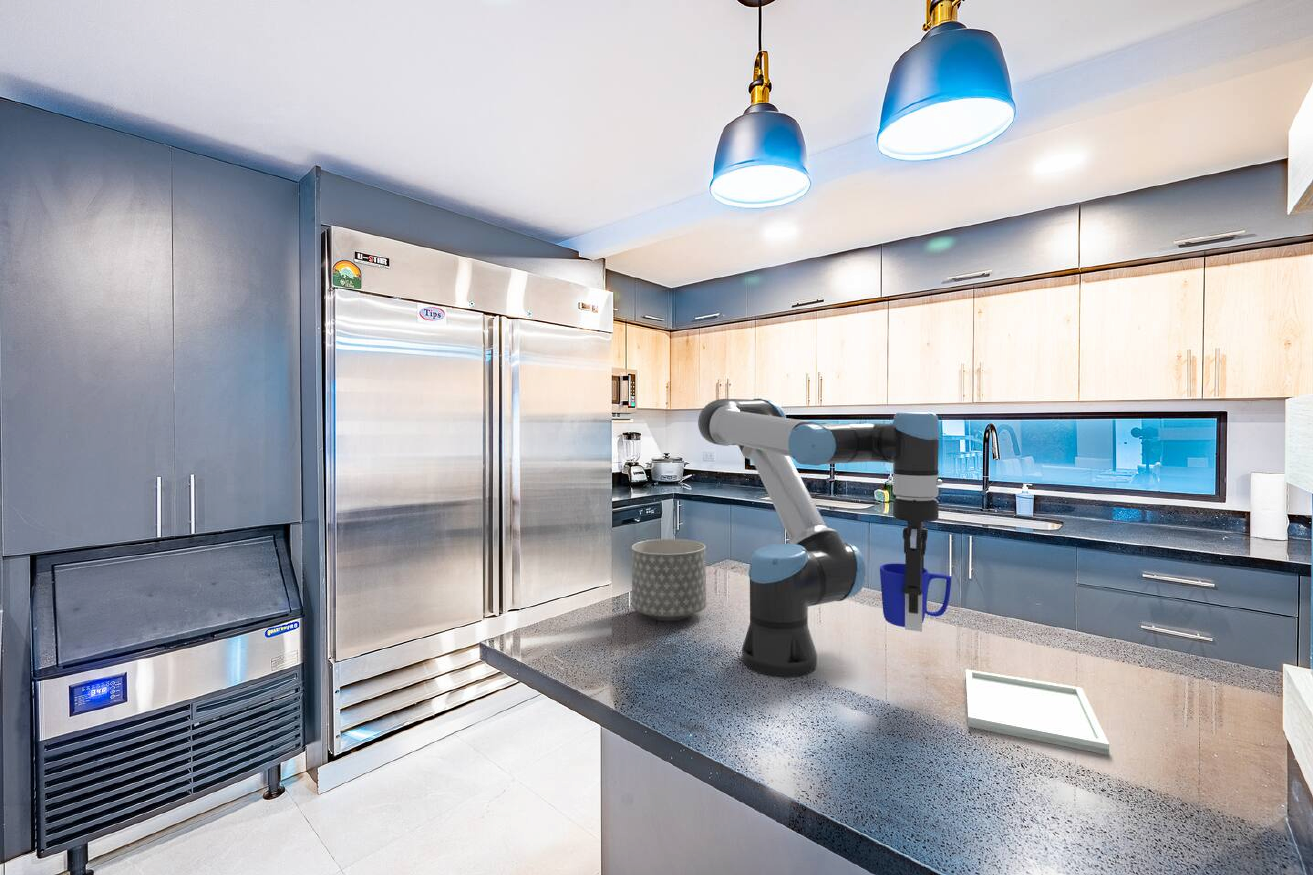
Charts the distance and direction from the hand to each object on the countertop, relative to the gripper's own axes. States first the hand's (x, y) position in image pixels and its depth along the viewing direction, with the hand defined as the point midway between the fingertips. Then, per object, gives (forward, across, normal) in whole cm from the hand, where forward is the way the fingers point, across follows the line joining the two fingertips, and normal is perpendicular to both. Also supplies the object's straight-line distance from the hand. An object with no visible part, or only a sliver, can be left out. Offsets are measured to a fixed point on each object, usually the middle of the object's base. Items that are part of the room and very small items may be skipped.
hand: (914, 622), depth 104 cm
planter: (+13, +18, +59) cm, 63 cm away
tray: (+12, 0, -17) cm, 21 cm away
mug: (+1, 0, 0) cm, 1 cm away
